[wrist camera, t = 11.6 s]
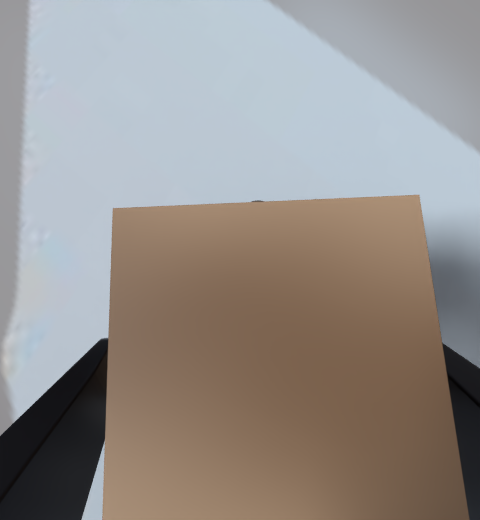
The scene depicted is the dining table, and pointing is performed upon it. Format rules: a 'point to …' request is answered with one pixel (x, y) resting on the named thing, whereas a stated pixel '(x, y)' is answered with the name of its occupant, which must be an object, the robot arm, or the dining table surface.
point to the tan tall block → (277, 365)
